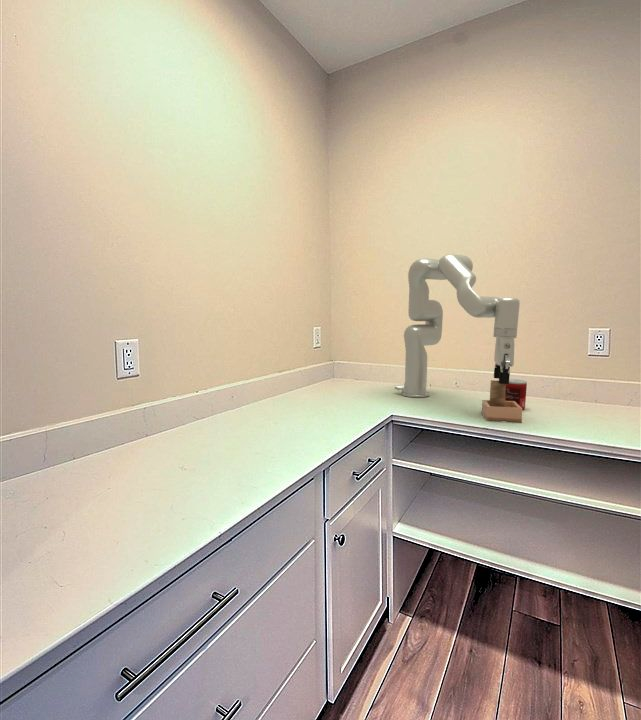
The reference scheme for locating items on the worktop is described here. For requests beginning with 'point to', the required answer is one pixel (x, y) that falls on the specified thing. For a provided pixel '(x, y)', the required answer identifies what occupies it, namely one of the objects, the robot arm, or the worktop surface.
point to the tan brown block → (497, 394)
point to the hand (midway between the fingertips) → (500, 380)
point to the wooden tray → (502, 412)
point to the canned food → (516, 392)
